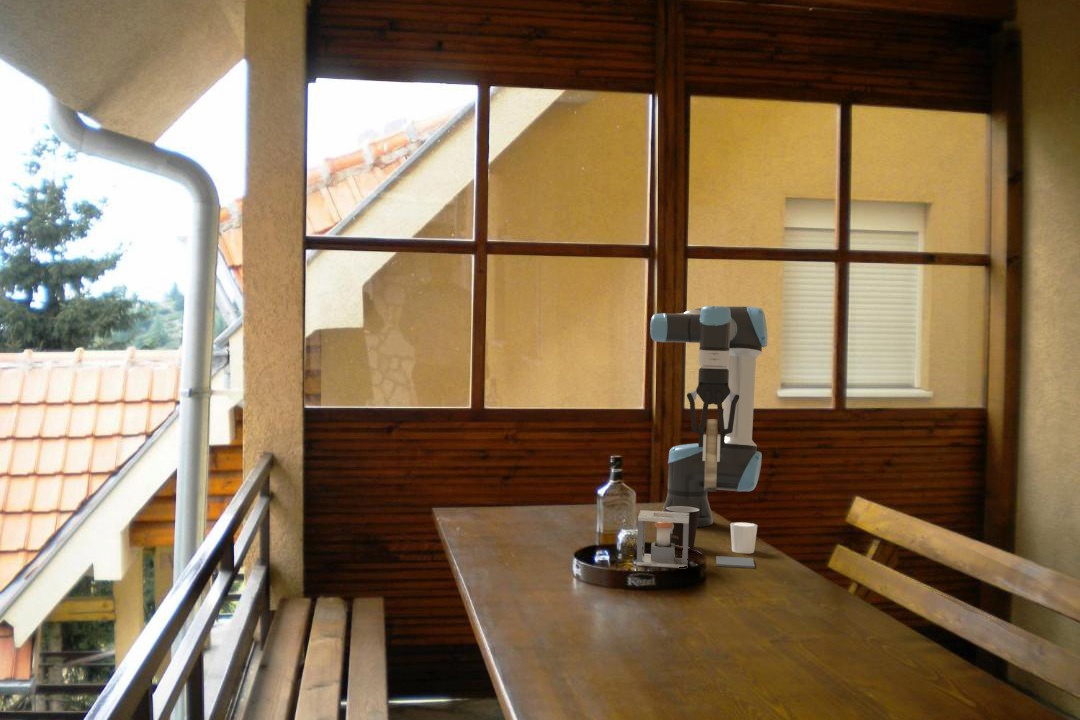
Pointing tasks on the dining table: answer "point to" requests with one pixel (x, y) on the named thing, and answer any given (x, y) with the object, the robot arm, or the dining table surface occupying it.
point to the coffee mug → (677, 528)
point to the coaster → (735, 562)
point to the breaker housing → (662, 554)
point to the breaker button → (663, 533)
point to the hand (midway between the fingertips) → (711, 460)
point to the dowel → (711, 455)
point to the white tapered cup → (743, 537)
